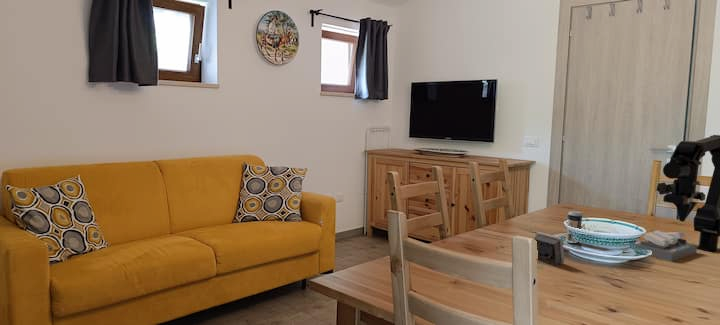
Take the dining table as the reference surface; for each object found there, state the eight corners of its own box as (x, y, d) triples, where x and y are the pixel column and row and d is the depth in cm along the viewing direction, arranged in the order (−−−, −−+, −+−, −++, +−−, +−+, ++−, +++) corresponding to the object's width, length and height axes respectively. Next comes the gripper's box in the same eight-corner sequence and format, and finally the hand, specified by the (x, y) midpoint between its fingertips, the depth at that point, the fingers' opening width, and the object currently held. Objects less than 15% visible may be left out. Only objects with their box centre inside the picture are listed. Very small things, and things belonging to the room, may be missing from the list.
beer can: (580, 245, 179) (583, 213, 178) (567, 244, 180) (570, 212, 179) (577, 241, 184) (580, 211, 183) (564, 240, 185) (567, 210, 184)
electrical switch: (564, 264, 157) (565, 236, 155) (556, 268, 154) (556, 240, 152) (538, 256, 164) (539, 230, 162) (530, 260, 161) (530, 233, 159)
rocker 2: (656, 234, 178) (658, 229, 177) (675, 243, 173) (678, 239, 172) (651, 235, 176) (653, 231, 175) (670, 245, 171) (673, 240, 170)
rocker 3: (664, 237, 181) (663, 232, 182) (684, 237, 176) (683, 231, 176) (659, 238, 179) (658, 233, 179) (679, 238, 173) (679, 233, 174)
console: (660, 244, 184) (661, 233, 184) (696, 253, 175) (697, 241, 174) (634, 252, 173) (635, 240, 173) (671, 261, 163) (672, 249, 163)
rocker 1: (648, 236, 175) (650, 231, 174) (668, 246, 169) (670, 241, 169) (643, 237, 172) (645, 233, 172) (663, 247, 167) (665, 242, 166)
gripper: (673, 173, 179) (669, 213, 181) (649, 175, 169) (644, 219, 170) (708, 177, 170) (702, 220, 172) (685, 180, 159) (679, 226, 161)
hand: (681, 221), depth 169 cm, fingers closed
